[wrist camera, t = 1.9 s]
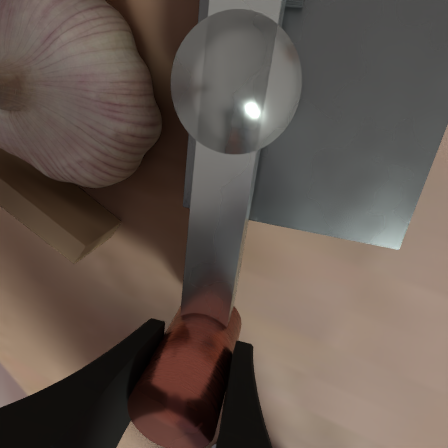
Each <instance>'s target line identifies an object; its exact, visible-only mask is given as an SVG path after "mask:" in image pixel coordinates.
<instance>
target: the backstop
mask: <svg viewBox="0 0 448 448" xmlns="http://www.w3.org/2000/svg"><path fill="white" fill-rule="evenodd" d="M0 206H1V207H2V208H4V209H5V210H6V211H7V212H9V213H10V214H11V215H12V216H14V217H15V218H16V219H18V220H19V221H20V222H21V223H23V224H24V225H25V226H26V227H28V228H29V229H30V230H31V231H33V232H34V233H35V234H37V235H38V236H39V237H40V238H42V239H43V240H44V241H45V242H47V243H48V244H49V245H50V246H52V247H53V248H54V249H56V250H57V251H58V252H59V253H61V254H62V255H63V256H64V257H66V258H67V259H68V260H69V261H71V262H72V263H73V264H75V263H77V262H78V261H79V260H81V259H82V258H83V257H85V256H86V255H87V254H89V253H90V252H92V251H93V250H94V249H96V248H97V247H98V246H100V245H101V244H103V243H104V242H105V241H107V240H108V239H109V238H111V236H112V235H113V234H114V232H115V231H116V229H117V228H118V226H119V225H120V223H121V221H120V220H119V219H117V218H116V217H115V216H114V215H112V214H111V213H110V212H109V211H108V210H106V209H105V208H104V207H103V206H101V205H100V204H99V203H98V202H96V201H95V200H94V199H93V198H92V197H90V196H89V195H88V194H87V193H85V192H84V191H83V190H82V189H80V188H79V187H78V186H77V185H76V184H74V183H71V182H61V181H57V180H54V179H52V178H50V177H48V176H46V175H44V174H43V173H42V172H40V171H39V170H38V169H36V168H35V167H34V166H32V165H31V164H29V163H28V162H26V161H25V160H23V159H21V158H19V157H17V156H15V155H13V154H10V153H8V152H6V151H5V150H3V149H1V148H0Z"/></svg>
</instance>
